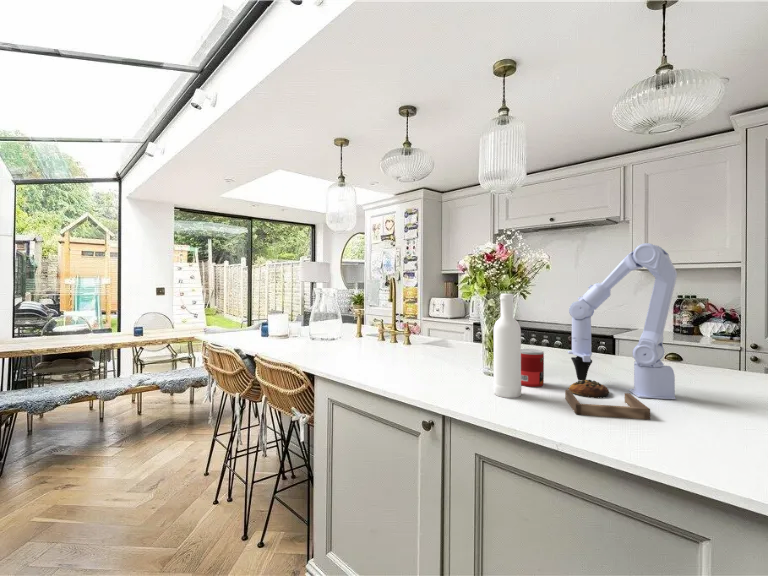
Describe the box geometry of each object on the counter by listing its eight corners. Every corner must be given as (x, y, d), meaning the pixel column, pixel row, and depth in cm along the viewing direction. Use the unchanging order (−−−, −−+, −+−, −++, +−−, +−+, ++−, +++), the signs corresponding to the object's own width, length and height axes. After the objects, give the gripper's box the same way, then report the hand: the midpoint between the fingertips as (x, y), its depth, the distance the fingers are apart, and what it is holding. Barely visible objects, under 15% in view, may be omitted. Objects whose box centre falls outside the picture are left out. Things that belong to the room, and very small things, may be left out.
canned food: (545, 387, 126) (546, 353, 125) (519, 386, 127) (519, 352, 127) (541, 381, 133) (541, 349, 133) (516, 380, 135) (516, 348, 134)
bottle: (496, 398, 115) (496, 294, 114) (490, 390, 123) (490, 293, 122) (525, 398, 114) (524, 294, 114) (517, 390, 122) (516, 293, 122)
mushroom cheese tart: (599, 400, 112) (596, 382, 112) (561, 397, 120) (560, 380, 121) (617, 395, 118) (615, 378, 119) (581, 392, 127) (579, 376, 128)
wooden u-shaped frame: (629, 402, 110) (629, 393, 110) (650, 419, 96) (650, 409, 96) (565, 398, 114) (565, 389, 114) (576, 414, 100) (576, 404, 100)
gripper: (563, 335, 137) (563, 374, 137) (572, 341, 123) (572, 384, 123) (586, 335, 135) (586, 375, 136) (597, 341, 121) (598, 386, 121)
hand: (581, 380), depth 129 cm, fingers closed
